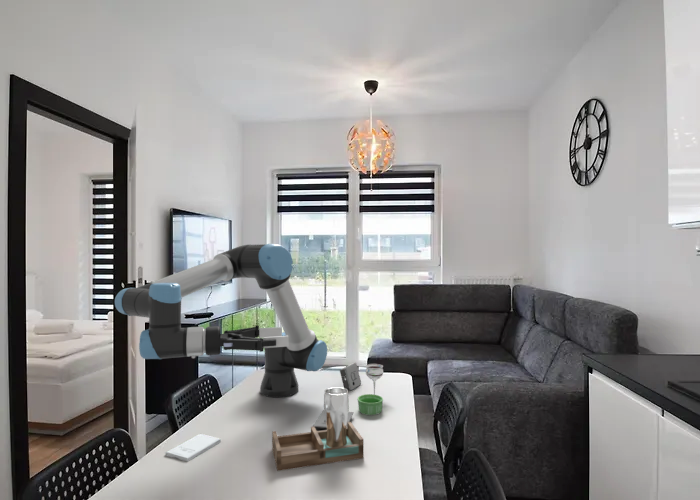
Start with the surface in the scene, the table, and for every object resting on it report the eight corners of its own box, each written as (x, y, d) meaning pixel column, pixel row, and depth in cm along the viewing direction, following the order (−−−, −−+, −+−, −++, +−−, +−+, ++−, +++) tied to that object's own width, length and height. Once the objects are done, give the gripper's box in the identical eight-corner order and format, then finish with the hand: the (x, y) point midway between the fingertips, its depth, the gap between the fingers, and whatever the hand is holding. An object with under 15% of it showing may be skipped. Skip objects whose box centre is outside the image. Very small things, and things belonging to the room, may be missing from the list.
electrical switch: (351, 391, 164) (349, 367, 164) (340, 390, 166) (338, 367, 167) (361, 384, 172) (359, 362, 173) (351, 384, 174) (349, 362, 175)
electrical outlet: (345, 435, 124) (345, 427, 124) (312, 432, 126) (312, 424, 126) (353, 418, 137) (353, 411, 137) (323, 416, 139) (323, 409, 139)
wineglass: (371, 393, 161) (371, 362, 161) (386, 396, 157) (386, 365, 157) (362, 398, 155) (362, 366, 155) (377, 401, 151) (377, 369, 152)
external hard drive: (220, 444, 119) (187, 463, 108) (199, 438, 122) (165, 457, 111) (220, 438, 119) (187, 457, 108) (199, 433, 122) (165, 451, 111)
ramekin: (357, 406, 147) (357, 393, 148) (382, 406, 147) (382, 394, 147) (357, 415, 139) (357, 402, 139) (383, 416, 138) (383, 403, 138)
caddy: (272, 449, 114) (272, 431, 114) (350, 438, 121) (350, 421, 121) (277, 471, 102) (277, 451, 103) (363, 458, 109) (363, 439, 109)
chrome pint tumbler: (323, 439, 117) (323, 387, 117) (347, 438, 117) (347, 386, 117) (324, 451, 110) (324, 395, 110) (349, 450, 110) (349, 394, 110)
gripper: (207, 345, 120) (279, 340, 127) (202, 367, 96) (291, 360, 103) (207, 319, 120) (279, 316, 127) (202, 335, 97) (291, 330, 103)
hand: (284, 336), depth 115 cm, fingers open, 13 cm apart
